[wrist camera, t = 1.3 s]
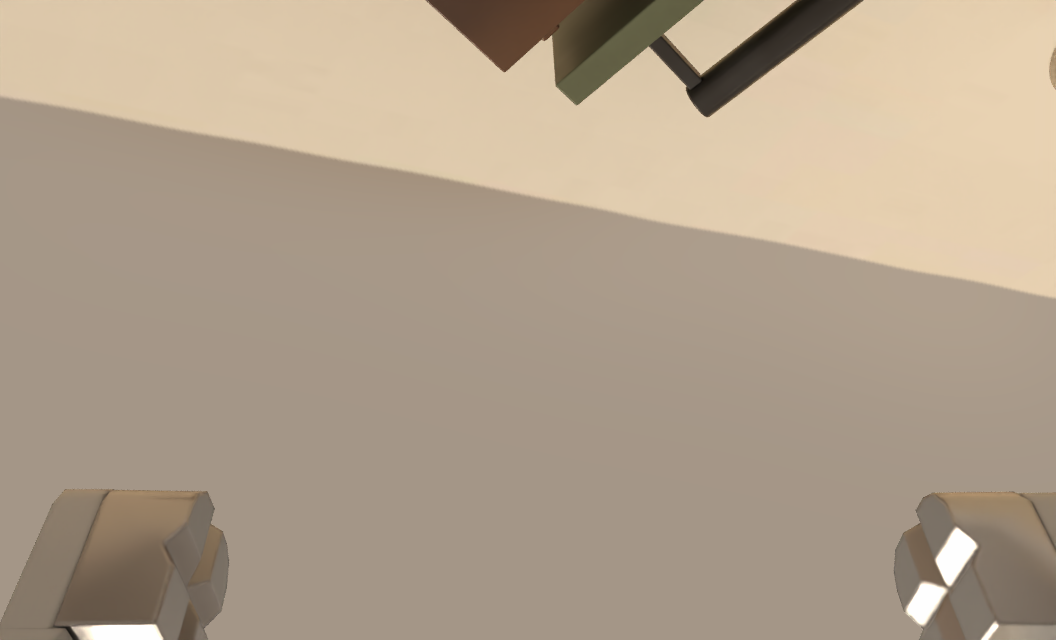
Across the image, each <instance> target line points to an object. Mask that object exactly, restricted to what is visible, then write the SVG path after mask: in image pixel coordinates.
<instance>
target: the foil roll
mask: <svg viewBox="0 0 1056 640" xmlns="http://www.w3.org/2000/svg"><path fill="white" fill-rule="evenodd" d="M1049 72H1050V79H1051V83H1052V85H1053V87H1054V88H1055V89H1056V48H1055V50H1054V53H1053V55H1052V58H1051V62H1050V70H1049Z"/></svg>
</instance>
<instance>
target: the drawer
mask: <svg viewBox="0 0 1056 640" xmlns="http://www.w3.org/2000/svg"><path fill="white" fill-rule="evenodd" d="M702 1H704V0H585V1H584V2H583V3H582V4H580V5H579V6H578V7H577V8H576V9H575V10H574V11H573V12H572V13H570V14H569V15H568V16H567V17H566V18H565V19H564V20H563V21H562V22H560V23H559V24H558V25H557V26H556V27H555V28H554V29H553V30H552V31H550V32H549V33H548V34H547V35H546V36H545V37H544V38H543V39H542V40H543V41H545V40H547V39H548V38H549V37H550V36H551V35H552V41H553V55H554V69H555V83H556V87H557V88H558V89H559V90H560V91H561V92H562V93H564V94H565V95H566V96H567V97H568V98H569V99H570V100H571V101H572V102H573V103H574V104H575V105H578V104H580V103H581V102H582V101H583V100H584V99H586V98H587V97H588V96H589V95H590V94H592V93H593V92H594V91H595V90H596V89H598V88H599V87H600V86H601V85H602V84H604V83H605V82H606V81H607V80H608V79H610V78H611V77H612V76H613V75H614V74H616V73H617V72H618V71H619V70H620V69H622V68H623V67H624V66H625V65H626V64H628V63H629V62H630V61H631V60H632V59H634V58H635V57H636V56H637V55H639V54H640V53H641V52H642V51H643V50H645V49H646V48H647V47H648V46H649V47H650V48H651V49H652V50H653V51H654V52H655V53H656V54H657V55H658V56H659V57H660V58H661V59H662V61H663V62H664V63H665V64H666V65H667V66H668V67H669V68H670V69H671V70H672V71H673V72H674V73H675V74H676V75H677V77H678V78H679V79H680V80H681V81H682V82H683V83H684V84H685V85H686V86H687V87H686V92H687V94H688V96H689V98H690V100H691V101H692V103H693V104H694V106H695V107H696V108H697V109H698V111H699V112H700V113H701V114H703V115H704V116H706V117H710V116H711V115H712V114H714V113H715V112H716V111H718V110H719V109H720V108H722V107H723V106H724V105H726V104H727V103H728V102H730V101H731V100H732V99H733V98H735V97H736V96H737V95H739V94H740V93H741V92H743V91H744V90H745V89H747V88H748V87H749V86H751V85H752V84H753V83H755V82H756V81H757V80H759V79H760V78H761V77H763V76H764V75H765V74H767V73H768V72H769V71H771V70H772V69H773V68H775V67H776V66H777V65H779V64H780V63H781V62H783V61H784V60H785V59H787V58H788V57H789V56H791V55H792V54H793V53H795V52H796V51H797V50H799V49H800V48H801V47H803V46H804V45H805V44H806V43H808V42H809V41H810V40H812V39H813V38H814V37H816V36H817V35H818V34H820V33H821V32H822V31H824V30H825V29H826V28H828V27H829V26H830V25H832V24H833V23H834V22H836V21H837V20H838V19H840V18H841V17H842V16H844V15H845V14H846V13H848V12H849V11H850V10H852V9H853V8H854V7H856V6H857V5H858V4H860V3H861V2H862V1H863V0H796V1H795V2H794V3H792V4H791V5H790V6H789V7H787V8H786V9H785V10H783V11H782V12H781V13H780V14H778V15H777V16H776V17H774V18H773V19H772V20H771V21H769V22H768V23H767V24H766V25H764V26H763V27H762V28H760V29H759V30H758V31H757V32H755V33H754V34H753V35H752V36H750V37H749V38H748V39H746V40H745V41H744V42H743V43H741V44H740V45H739V46H738V47H736V48H735V49H734V50H732V51H731V52H730V53H729V54H727V55H726V56H725V57H723V58H722V59H721V60H720V61H718V62H717V63H716V64H715V65H713V66H712V67H711V68H709V69H708V70H707V71H706V72H704V73H703V74H702V75H701V76H700V73H699V72H698V71H697V70H696V69H695V68H694V67H693V65H692V64H691V63H690V62H689V61H688V60H687V59H686V58H685V57H684V56H683V55H682V53H681V52H680V51H679V50H678V49H677V48H676V47H675V46H674V45H673V44H672V43H671V41H670V40H669V39H668V38H667V37H666V36H665V35H664V33H665V32H666V31H667V30H669V29H670V28H671V27H672V26H673V25H675V24H676V23H677V22H678V21H679V20H681V19H682V18H683V17H684V16H685V15H687V14H688V13H689V12H690V11H691V10H693V9H694V8H695V7H696V6H698V5H699V4H700V3H701V2H702Z"/></svg>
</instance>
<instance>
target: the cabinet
mask: <svg viewBox="0 0 1056 640" xmlns="http://www.w3.org/2000/svg"><path fill="white" fill-rule="evenodd" d="M426 1H427V2H428V3H429V4H430V5H431V6H432V7H433V8H435V9H436V10H437V11H438V12H439V13H440V14H441V15H442V16H443V17H444V18H445V19H446V20H448V21H449V22H450V23H451V24H452V25H453V26H454V27H455V28H456V29H457V30H458V31H459V32H461V33H462V34H463V35H464V36H465V37H466V38H467V39H468V40H469V41H470V42H471V43H472V44H474V45H475V46H476V47H477V48H478V49H479V50H480V51H481V52H482V53H483V54H484V55H485V56H487V57H488V58H489V59H490V60H491V61H492V62H493V63H494V64H495V65H496V66H497V67H498V68H500V69H501V70H502V71H503V72H506V71H507V70H508V69H509V68H510V67H511V66H513V65H514V64H515V63H516V62H517V61H518V60H519V59H520V58H521V57H523V56H524V55H525V54H526V53H527V52H528V51H529V50H530V49H531V48H533V47H534V46H535V45H536V44H537V43H538V42H539V41H540V40H541V39H543V38H544V37H545V36H546V35H547V34H548V33H549V32H550V31H552V30H553V29H554V28H555V27H556V26H557V25H558V24H559V23H560V22H562V21H563V20H564V19H565V18H566V17H567V16H568V15H569V14H570V13H572V12H573V11H574V10H575V9H576V8H577V7H578V6H579V5H580V4H582V3H583V2H584V1H585V0H426Z"/></svg>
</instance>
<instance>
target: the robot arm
mask: <svg viewBox="0 0 1056 640" xmlns="http://www.w3.org/2000/svg"><path fill="white" fill-rule="evenodd" d="M213 512H214V506H213V504H212V501H211V499H210V497H209V494H208V492H207V491H150V490H147V491H146V490H114V489H65V490H64V492H62V494H61V495H60V496H59V497H58V498H57V499H56V501H55V502H54V503H53V504H52V506H51V508H50V511H49V513H48V515H47V518H46V520H45V522H44V524H43V527H42V529H41V531H40V534H39V536H38V538H37V540H36V542H35V545H34V547H33V549H32V551H31V554H30V556H29V558H28V561H27V563H26V565H25V567H24V570H23V572H22V574H21V576H20V579H19V581H18V583H17V585H16V588H15V590H14V592H13V595H12V597H11V599H10V601H9V604H8V606H7V608H6V611H5V613H4V615H3V617H2V620H1V622H0V640H208V638H207V636H206V633H205V631H204V628H205V627H206V626H207V625H208V624H209V623H210V622H211V621H212V620H213V619H214V618H215V617H216V616H217V615H218V614H219V613H220V612H221V610H222V606H223V601H224V597H225V593H226V589H227V578H228V566H229V558H228V549H227V543H226V540H225V537H224V534H223V531H221V530H220V529H218V528H216V527H215V526H214V525H212V524H211V520H212V516H213ZM916 512H917V515H918V518H919V521H920V523H919V524H918V525H916V526H914V527H913V528H911V529H909V530H908V531H906V532H904V533H903V535H902V537H901V539H900V541H899V543H898V545H897V548H896V550H895V563H894V575H895V581H896V587H897V592H898V595H899V598H900V601H901V604H902V607H903V610H904V612H905V613H907V614H908V615H909V616H910V617H911V618H912V619H913V620H914V621H915V622H916V623H917V624H918V625H920V626H921V627H922V628H923V631H922V634H921V636H920V639H919V640H1056V493H1015V492H955V493H954V492H951V493H931V494H929V495H927V496H925V497H923V499H922V501H921V502H920V504H919V506H918V508H917V510H916Z"/></svg>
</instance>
